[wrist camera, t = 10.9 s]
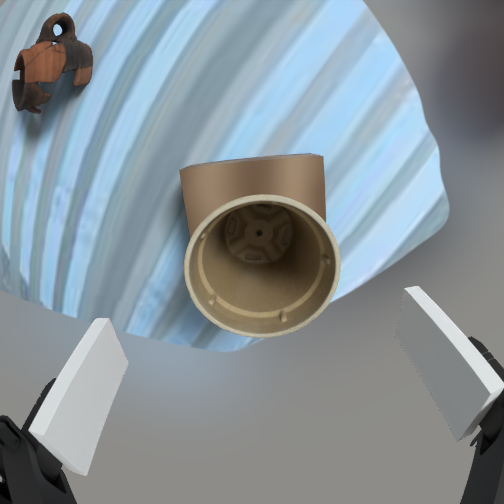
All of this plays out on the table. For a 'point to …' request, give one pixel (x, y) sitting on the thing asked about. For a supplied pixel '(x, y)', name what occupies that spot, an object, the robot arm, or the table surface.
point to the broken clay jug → (50, 63)
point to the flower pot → (262, 266)
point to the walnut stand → (252, 184)
